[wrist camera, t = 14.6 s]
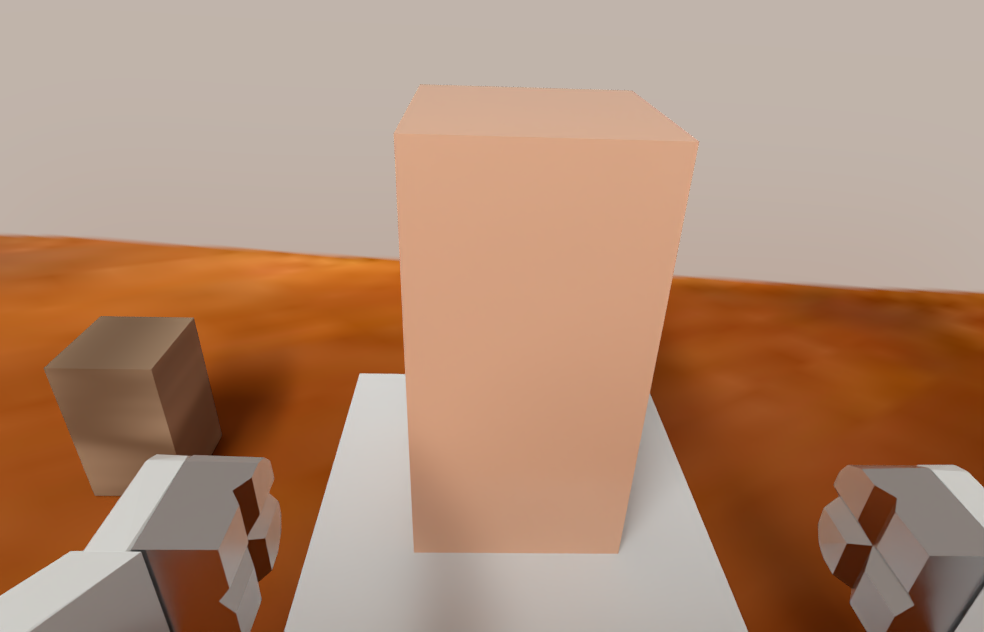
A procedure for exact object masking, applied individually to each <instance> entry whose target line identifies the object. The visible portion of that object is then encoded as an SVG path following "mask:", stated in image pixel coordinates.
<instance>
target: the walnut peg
mask: <svg viewBox="0 0 984 632" xmlns="http://www.w3.org/2000/svg"><path fill="white" fill-rule="evenodd" d="M44 370H45V373H46V375H47V378H48V380H49V383H50V385H51V387H52V390H53V392H54V395H55V397H56V400H57V402H58V405H59V407H60V410H61V412H62V415H63V417H64V420H65V422H66V425H67V427H68V430H69V432H70V435H71V437H72V440H73V442H74V445H75V447H76V450H77V452H78V455H79V457H80V460H81V462H82V465H83V467H84V470H85V472H86V475H87V477H88V480H89V482H90V485H91V487H92V490H93V492H94V495H95V496H122V494H123V493H124V492H125V490H126V489H127V487H128V486H129V484H130V483H131V481H132V480H133V479H134V477H135V476H136V474H137V473H138V471H139V470H140V469H141V467H142V466H143V464H144V463H145V462H146V461H147V460H148V459H150V458H151V457H153V456H155V455H156V454H161V455H183V456H193V455H208V456H211V455H212V453H213V451H214V449H215V448H216V446H217V444H218V442H219V440H220V439H221V437H222V432H221V428H220V424H219V420H218V415H217V411H216V407H215V403H214V399H213V395H212V391H211V387H210V382H209V378H208V374H207V370H206V366H205V362H204V358H203V354H202V350H201V345H200V341H199V337H198V333H197V329H196V325H195V321H194V318H175V317H113V316H101V317H100V318H98V319H97V320H96V321H95V322H94V323H93V324H92V325H91V326H90V327H88V328H87V329H86V330H85V331H84V332H83V333H82V334H81V335H80V336H79V337H77V338H76V339H75V340H74V341H73V342H72V343H71V344H70V345H69V346H68V347H66V348H65V349H64V350H63V351H62V352H61V353H60V354H59V355H58V356H57V357H55V358H54V359H53V360H52V361H51V362H50V363H49V364H48V365H47V366H46V367H44Z"/></svg>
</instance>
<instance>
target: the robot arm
mask: <svg viewBox="0 0 984 632" xmlns="http://www.w3.org/2000/svg"><path fill="white" fill-rule="evenodd" d="M273 481H274V475H273V471H272V467H271V462H270V460H268V459H266V458H262V457H235V456H208V455H193V456H183V455H161V454H156V455H155V456H153V457H151V458H150V459H148V460H147V461H146V462H145V463H144V464H143V466H142V467H141V469H140V470H139V471H138V473H137V474H136V476H135V477H134V479H133V480H132V481H131V483H130V484H129V486H128V487H127V489H126V490H125V492H124V493H123V494H122V496H121V497H120V499H119V500H118V502H117V503H116V505H115V506H114V507H113V509H112V510H111V512H110V513H109V515H108V516H107V517H106V519H105V520H104V522H103V523H102V525H101V526H100V528H99V529H98V530H97V532H96V533H95V535H94V536H93V538H92V539H91V541H90V542H89V543H88V545H87V546H86V548H85V549H84V551H70V552H69V553H67V554H66V555H64V556H63V557H61V558H59V559H58V560H56V561H55V562H53V563H51V564H50V565H48V566H47V567H45V568H44V569H42V570H40V571H39V572H37V573H36V574H34V575H32V576H31V577H29V578H28V579H26V580H25V581H23V582H21V583H20V584H18V585H17V586H15V587H13V588H12V589H10V590H9V591H7V592H6V593H4V594H2V595H1V596H0V632H250V631H251V628H252V625H253V622H254V620H255V617H256V614H257V611H258V608H259V605H260V603H261V600H262V599H261V595H260V590H259V586H258V582H259V581H260V580H261V579H262V578H264V577H265V576H266V575H267V574H268V573H269V572H270V571H272V568H273V565H274V562H275V559H276V556H277V553H278V548H279V542H280V535H281V512H280V506H279V502H278V501H277V500H276V499H275V498H274V497H273V496H272V495H271V494H269V491H270V488H271V486H272V483H273ZM834 487H835V489H836V491H837V493H838V495H839V497H838V498H836V499H835V500H834V501H832V502H831V503H830V504H828V505H827V506H826V507H824V509H823V512H822V515H821V517H820V520H819V523H818V537H819V546H820V549H821V552H822V555H823V558H824V560H825V562H826V563H827V565H828V567H829V569H830V570H831V572H832V574H833V575H834V576H836V577H837V578H838V579H840V580H841V581H842V582H844V583H845V584H846V585H848V586H849V587H850V588H852V591H851V597H850V605H851V606H852V608H853V610H854V611H855V613H856V615H857V616H858V618H859V620H860V621H861V623H862V625H863V626H864V628H865V630H866V631H867V632H984V487H983V486H982V485H981V484H980V483H979V482H978V481H977V480H976V479H975V478H974V477H973V476H972V475H971V474H970V473H969V472H967V471H966V470H964V469H962V468H960V467H958V466H956V465H917V466H913V465H847V466H846V467H845V468H844V469H842V470H841V471H840V472H839V474H838V476H837V478H836V481H835V483H834Z"/></svg>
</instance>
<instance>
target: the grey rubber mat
mask: <svg viewBox="0 0 984 632" xmlns="http://www.w3.org/2000/svg"><path fill="white" fill-rule="evenodd" d="M284 632H748V630H747V628H746V625H745V623H744V621H743V618H742V616H741V613H740V611H739V608H738V606H737V604H736V601H735V599H734V596H733V594H732V591H731V589H730V587H729V584H728V582H727V579H726V577H725V574H724V572H723V570H722V567H721V565H720V562H719V560H718V557H717V555H716V553H715V550H714V548H713V545H712V543H711V540H710V538H709V536H708V533H707V531H706V528H705V526H704V523H703V521H702V519H701V516H700V514H699V511H698V509H697V506H696V504H695V502H694V499H693V497H692V494H691V492H690V489H689V487H688V485H687V482H686V480H685V477H684V475H683V472H682V470H681V468H680V465H679V463H678V460H677V458H676V456H675V453H674V451H673V448H672V446H671V443H670V441H669V439H668V436H667V434H666V431H665V429H664V426H663V424H662V422H661V419H660V417H659V414H658V412H657V409H656V407H655V405H654V402H653V400H652V397H651V395H650V394H649V399H648V404H647V410H646V415H645V420H644V425H643V430H642V435H641V440H640V445H639V450H638V455H637V461H636V466H635V471H634V476H633V481H632V486H631V491H630V496H629V501H628V506H627V511H626V517H625V522H624V527H623V532H622V537H621V542H620V547H619V552H618V554H578V553H414V544H413V523H412V502H411V481H410V460H409V440H408V419H407V398H406V377H405V374H360V375H359V378H358V382H357V385H356V389H355V392H354V395H353V399H352V402H351V406H350V409H349V412H348V416H347V419H346V423H345V426H344V429H343V433H342V436H341V440H340V443H339V446H338V450H337V453H336V457H335V460H334V463H333V467H332V470H331V474H330V477H329V480H328V484H327V487H326V491H325V494H324V497H323V501H322V504H321V508H320V511H319V514H318V518H317V521H316V525H315V528H314V532H313V535H312V538H311V542H310V545H309V549H308V552H307V555H306V559H305V562H304V566H303V569H302V572H301V576H300V579H299V583H298V586H297V589H296V593H295V596H294V600H293V603H292V606H291V610H290V613H289V617H288V620H287V623H286V627H285V630H284Z"/></svg>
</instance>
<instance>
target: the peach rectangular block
mask: <svg viewBox="0 0 984 632" xmlns="http://www.w3.org/2000/svg"><path fill="white" fill-rule="evenodd" d="M698 145H699V141H698V140H696V139H695V138H694V137H692V136H691V135H690V134H688V133H687V132H686V131H685V130H683V129H682V128H681V127H679V126H678V125H677V124H675V123H674V122H673V121H671V120H670V119H669V118H667V117H666V116H665V115H663V114H662V113H661V112H660V111H658V110H657V109H656V108H654V107H653V106H652V105H650V104H649V103H648V102H646V101H645V100H644V99H642V98H641V97H640V96H639V95H637V94H636V93H635V92H633V91H625V90H624V91H623V90H591V89H590V90H589V89H557V88H524V87H490V86H489V87H488V86H455V85H423V84H420V86H419V88H418V90H417V91H416V93H415V95H414V97H413V99H412V101H411V103H410V104H409V106H408V108H407V110H406V112H405V114H404V116H403V117H402V119H401V121H400V123H399V125H398V127H397V128H396V130H395V132H394V147H395V166H396V167H395V168H396V187H397V208H398V209H397V210H398V229H399V250H400V273H401V293H402V314H403V335H404V356H405V377H406V398H407V419H408V440H409V460H410V481H411V502H412V523H413V544H414V553H578V554H618V552H619V547H620V542H621V537H622V532H623V527H624V522H625V517H626V511H627V506H628V501H629V496H630V491H631V486H632V481H633V476H634V471H635V466H636V461H637V455H638V450H639V445H640V440H641V435H642V430H643V425H644V420H645V415H646V410H647V404H648V399H649V394H650V389H651V384H652V379H653V374H654V369H655V364H656V359H657V354H658V348H659V343H660V338H661V333H662V328H663V323H664V318H665V313H666V308H667V303H668V298H669V292H670V287H671V282H672V277H673V272H674V267H675V262H676V257H677V252H678V247H679V241H680V236H681V231H682V226H683V221H684V216H685V211H686V206H687V201H688V196H689V191H690V185H691V180H692V175H693V170H694V165H695V160H696V155H697V150H698Z"/></svg>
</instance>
